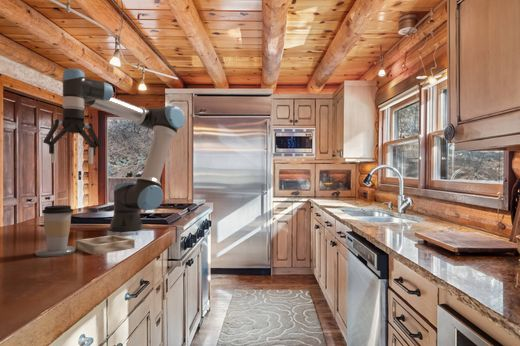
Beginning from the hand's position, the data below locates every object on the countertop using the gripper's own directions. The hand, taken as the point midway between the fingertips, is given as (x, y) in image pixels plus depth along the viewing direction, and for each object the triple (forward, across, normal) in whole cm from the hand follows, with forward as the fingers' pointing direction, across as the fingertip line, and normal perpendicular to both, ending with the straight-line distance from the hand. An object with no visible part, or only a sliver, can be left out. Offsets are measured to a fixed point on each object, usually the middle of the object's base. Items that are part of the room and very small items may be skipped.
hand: (73, 163), depth 136 cm
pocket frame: (+32, -5, +17) cm, 36 cm away
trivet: (+32, +10, +12) cm, 35 cm away
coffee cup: (+31, +10, +12) cm, 34 cm away
